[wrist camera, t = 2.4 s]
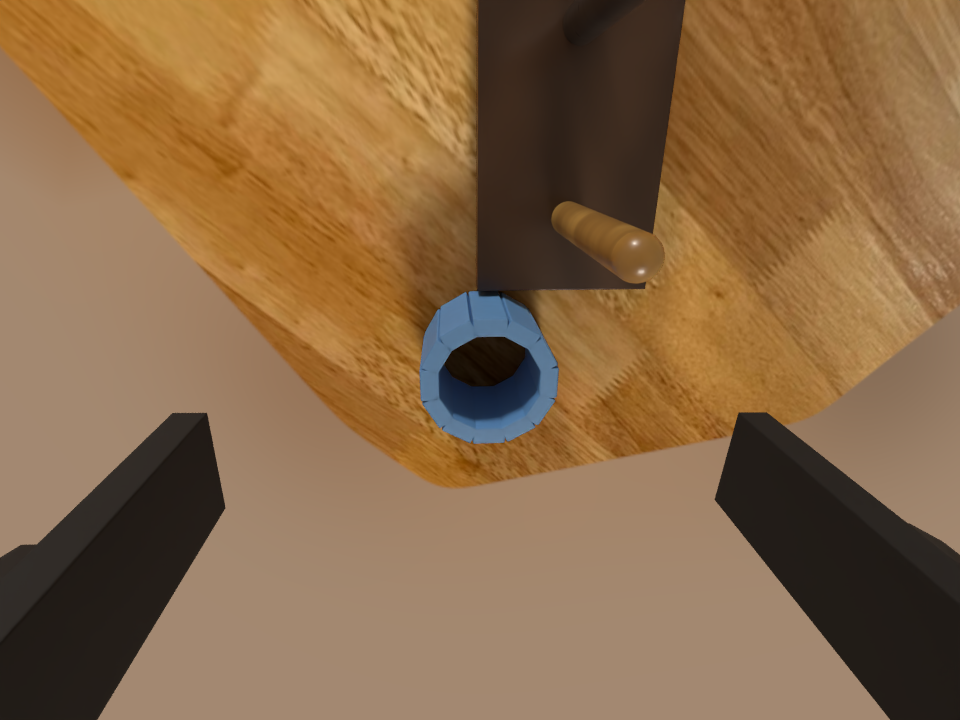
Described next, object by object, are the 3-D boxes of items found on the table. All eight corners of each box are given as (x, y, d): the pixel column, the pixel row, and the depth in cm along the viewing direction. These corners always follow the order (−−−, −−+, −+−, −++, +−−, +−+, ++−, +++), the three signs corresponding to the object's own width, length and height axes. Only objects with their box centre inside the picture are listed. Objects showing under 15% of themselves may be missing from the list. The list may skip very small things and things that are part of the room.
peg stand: (683, -68, 26) (931, -298, 13) (636, 283, 33) (762, 370, 20) (476, -75, 25) (509, -324, 12) (476, 285, 33) (495, 376, 20)
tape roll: (543, 290, 33) (562, 317, 28) (537, 397, 36) (553, 441, 31) (422, 291, 33) (417, 319, 27) (426, 400, 36) (423, 445, 30)
